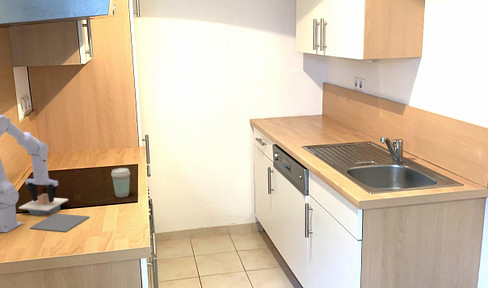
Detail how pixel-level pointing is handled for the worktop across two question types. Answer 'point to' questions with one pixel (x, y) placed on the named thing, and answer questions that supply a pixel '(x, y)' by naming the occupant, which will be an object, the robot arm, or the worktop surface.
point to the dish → (38, 212)
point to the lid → (43, 203)
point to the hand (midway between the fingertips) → (43, 201)
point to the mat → (59, 222)
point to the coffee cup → (121, 181)
